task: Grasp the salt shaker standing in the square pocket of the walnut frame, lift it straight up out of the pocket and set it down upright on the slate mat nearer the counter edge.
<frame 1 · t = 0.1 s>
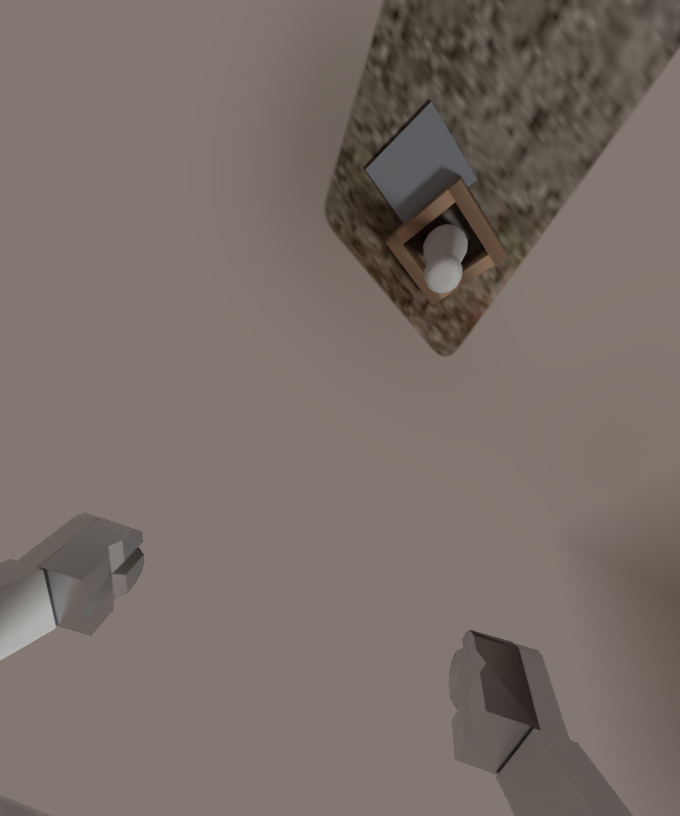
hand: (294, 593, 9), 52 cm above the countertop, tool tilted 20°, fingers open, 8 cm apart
salt shaker: (445, 241, 51), resting in pocket frame
slate mat: (420, 173, 46), on the countertop
pocket frame: (445, 242, 51), on the countertop
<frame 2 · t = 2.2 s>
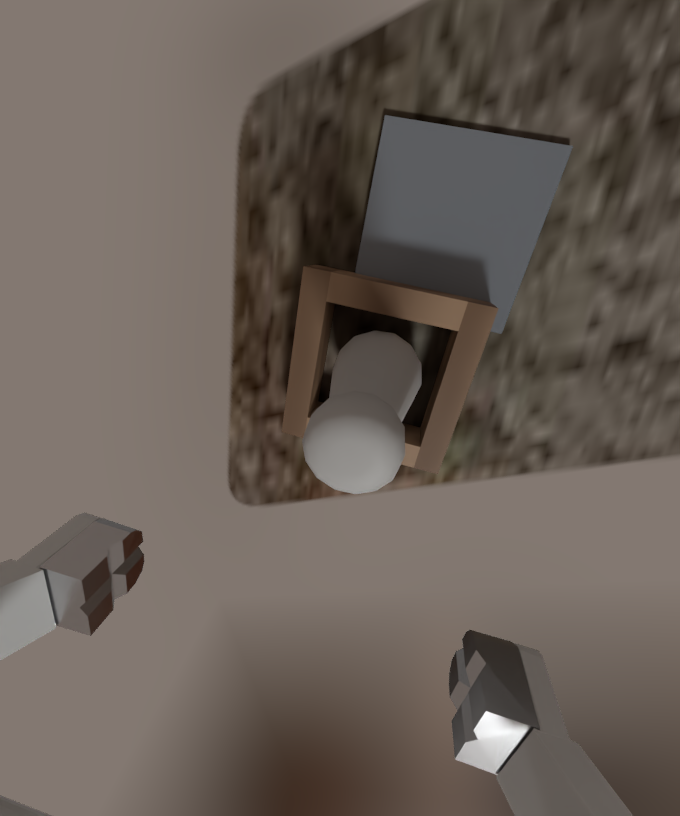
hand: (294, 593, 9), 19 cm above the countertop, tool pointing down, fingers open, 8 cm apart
salt shaker: (380, 364, 26), resting in pocket frame
slate mat: (447, 232, 22), on the countertop
pocket frame: (380, 365, 26), on the countertop
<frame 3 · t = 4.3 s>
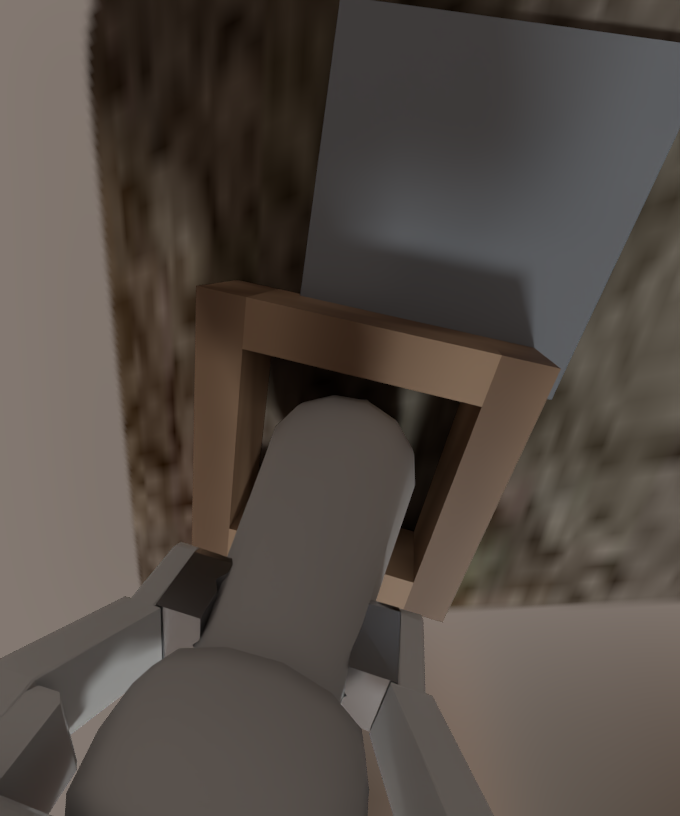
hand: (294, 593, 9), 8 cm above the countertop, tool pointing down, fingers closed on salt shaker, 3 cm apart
salt shaker: (350, 437, 16), resting in pocket frame, touching gripper
slate mat: (458, 225, 12), on the countertop
pocket frame: (349, 439, 16), on the countertop
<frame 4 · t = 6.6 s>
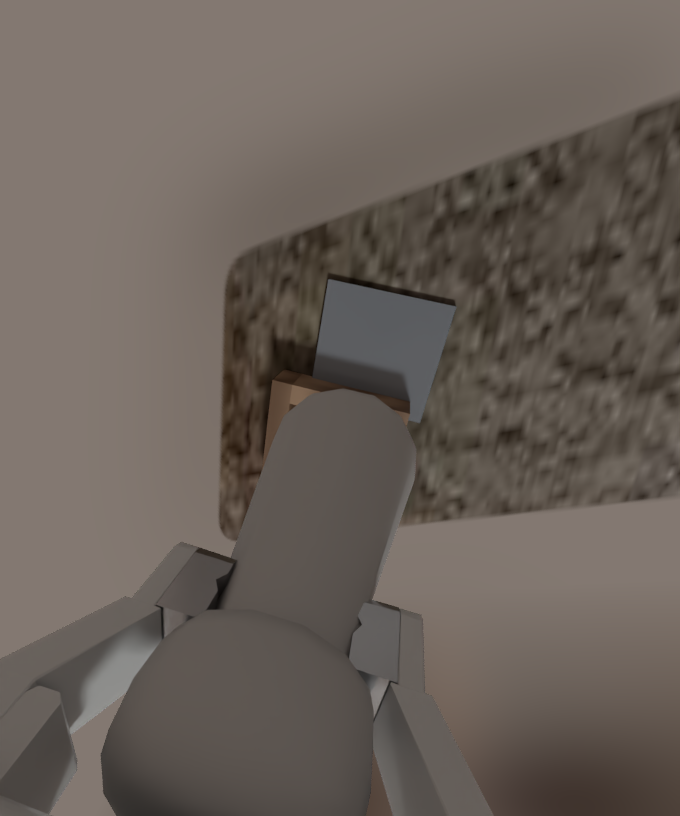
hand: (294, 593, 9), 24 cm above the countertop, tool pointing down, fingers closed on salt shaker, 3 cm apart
salt shaker: (353, 430, 17), point 15 cm above the countertop, touching gripper
slate mat: (377, 353, 30), on the countertop
pocket frame: (334, 440, 34), on the countertop
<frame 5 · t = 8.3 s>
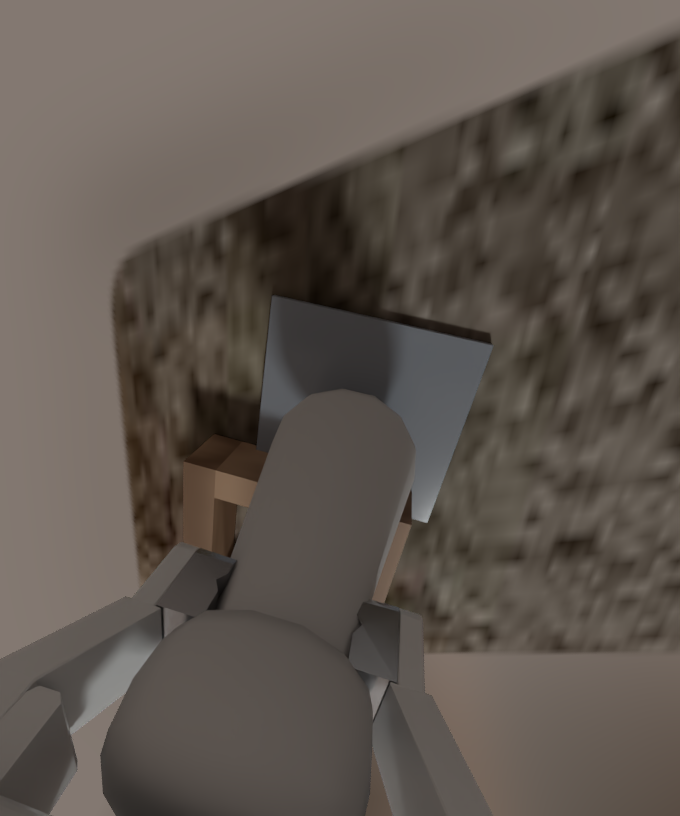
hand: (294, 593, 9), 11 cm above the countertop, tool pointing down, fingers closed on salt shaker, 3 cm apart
salt shaker: (352, 430, 17), point 2 cm above the countertop, touching gripper
slate mat: (357, 416, 18), on the countertop
pocket frame: (296, 536, 22), on the countertop
when the fingers open (9 cm above the countertop, at t = 9.3 s): salt shaker stays where it is, resting on slate mat.
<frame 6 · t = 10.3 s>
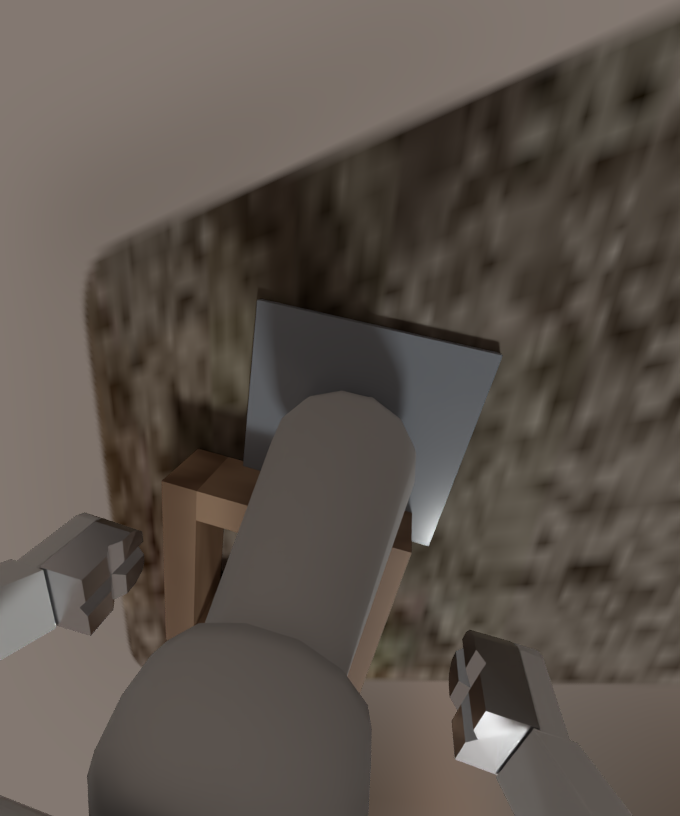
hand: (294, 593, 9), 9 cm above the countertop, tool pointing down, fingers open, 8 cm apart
salt shaker: (352, 433, 17), resting on slate mat
slate mat: (352, 430, 17), on the countertop
pocket frame: (287, 557, 21), on the countertop
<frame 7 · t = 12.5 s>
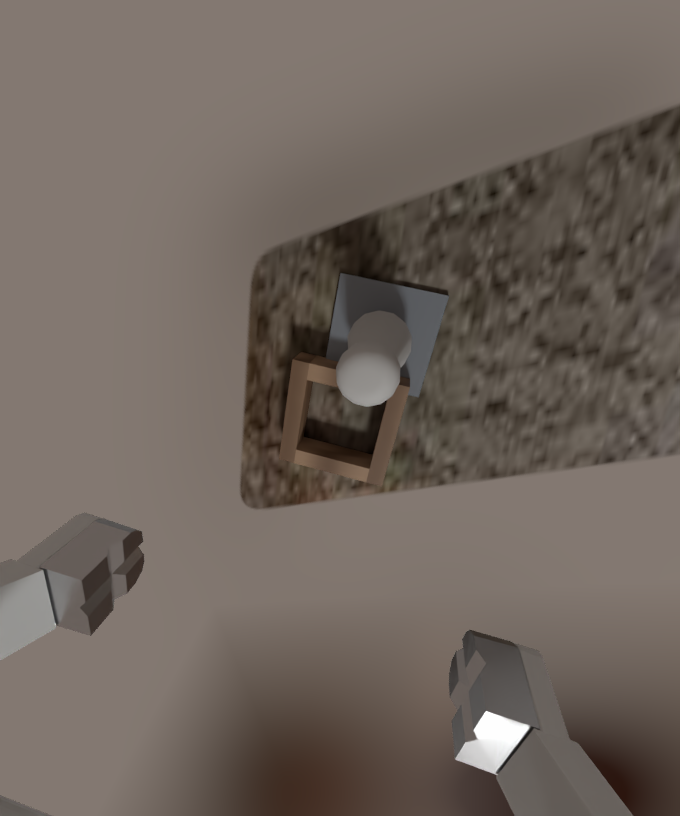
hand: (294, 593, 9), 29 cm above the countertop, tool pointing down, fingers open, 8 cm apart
salt shaker: (381, 337, 35), resting on slate mat
slate mat: (381, 337, 35), on the countertop
pocket frame: (344, 414, 39), on the countertop
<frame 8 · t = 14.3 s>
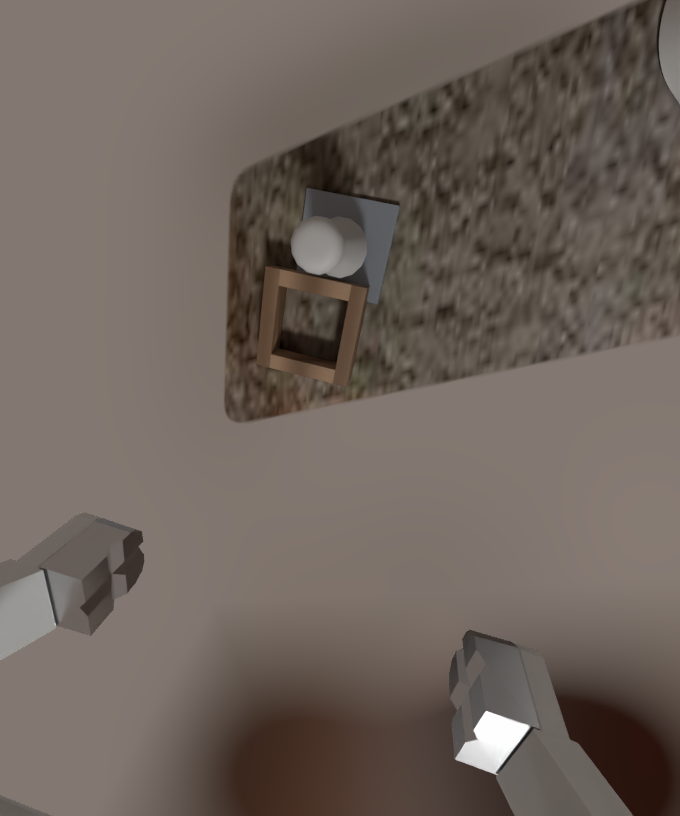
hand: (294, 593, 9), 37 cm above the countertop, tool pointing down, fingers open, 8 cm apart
salt shaker: (343, 248, 40), resting on slate mat
slate mat: (344, 248, 40), on the countertop
pocket frame: (314, 324, 44), on the countertop
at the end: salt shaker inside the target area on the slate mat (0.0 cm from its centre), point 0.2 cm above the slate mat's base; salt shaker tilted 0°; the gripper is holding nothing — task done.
